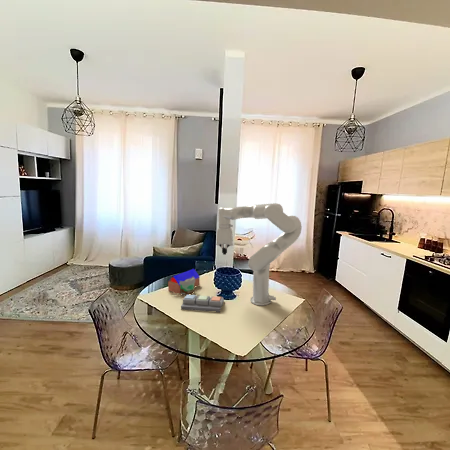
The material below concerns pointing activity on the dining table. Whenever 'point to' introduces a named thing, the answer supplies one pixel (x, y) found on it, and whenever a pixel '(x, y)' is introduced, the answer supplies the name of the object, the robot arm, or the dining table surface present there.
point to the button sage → (203, 298)
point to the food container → (187, 286)
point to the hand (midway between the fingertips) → (224, 254)
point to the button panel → (202, 304)
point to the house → (175, 280)
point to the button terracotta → (216, 299)
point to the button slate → (190, 297)
